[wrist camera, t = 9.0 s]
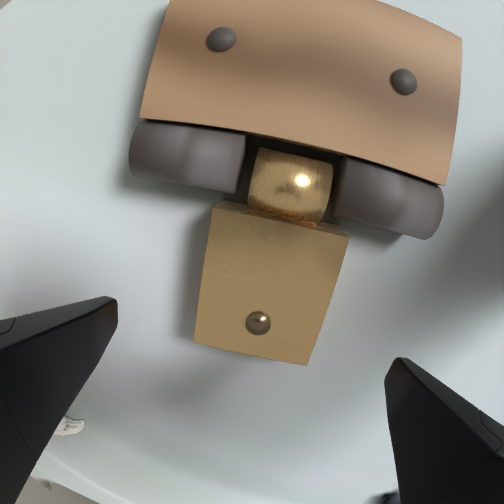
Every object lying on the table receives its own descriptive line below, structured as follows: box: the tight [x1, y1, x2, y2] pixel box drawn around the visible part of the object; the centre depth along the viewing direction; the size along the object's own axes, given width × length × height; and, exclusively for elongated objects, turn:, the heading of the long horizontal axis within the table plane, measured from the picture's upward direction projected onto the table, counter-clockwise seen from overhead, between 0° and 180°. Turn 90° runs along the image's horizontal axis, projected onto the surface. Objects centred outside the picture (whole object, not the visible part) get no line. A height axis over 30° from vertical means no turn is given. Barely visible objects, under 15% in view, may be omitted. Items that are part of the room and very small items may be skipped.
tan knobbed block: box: [193, 147, 349, 366], centre depth 14 cm, size 10×6×3 cm, turn 169°
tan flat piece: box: [129, 0, 462, 240], centre depth 12 cm, size 11×14×3 cm
